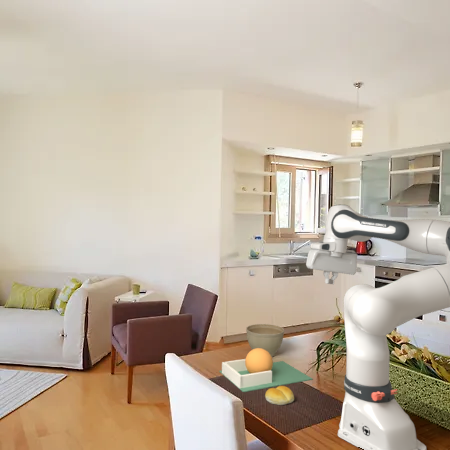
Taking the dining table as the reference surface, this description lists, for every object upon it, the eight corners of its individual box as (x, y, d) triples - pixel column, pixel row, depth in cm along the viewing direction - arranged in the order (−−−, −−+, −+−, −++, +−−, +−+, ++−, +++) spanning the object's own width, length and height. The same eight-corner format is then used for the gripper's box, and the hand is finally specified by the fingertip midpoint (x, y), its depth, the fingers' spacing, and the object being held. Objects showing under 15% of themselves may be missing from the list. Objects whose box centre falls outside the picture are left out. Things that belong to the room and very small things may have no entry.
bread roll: (260, 397, 131) (260, 385, 131) (283, 392, 135) (284, 380, 135) (274, 408, 124) (274, 395, 124) (298, 403, 128) (298, 390, 128)
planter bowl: (246, 360, 166) (246, 333, 166) (245, 347, 182) (245, 323, 182) (285, 361, 165) (286, 334, 165) (281, 348, 181) (282, 324, 181)
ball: (266, 350, 142) (244, 369, 142) (282, 369, 145) (260, 388, 144) (257, 338, 152) (236, 356, 151) (272, 355, 155) (252, 373, 154)
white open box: (271, 382, 142) (272, 371, 142) (239, 388, 137) (240, 376, 137) (251, 368, 156) (251, 357, 156) (221, 373, 151) (222, 362, 151)
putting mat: (312, 379, 146) (312, 378, 146) (243, 392, 135) (243, 391, 135) (282, 361, 164) (282, 360, 164) (219, 371, 153) (219, 370, 153)
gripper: (352, 250, 160) (347, 285, 159) (306, 243, 153) (301, 279, 153) (362, 251, 154) (357, 288, 153) (315, 244, 147) (310, 282, 147)
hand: (329, 283), depth 153 cm, fingers closed
